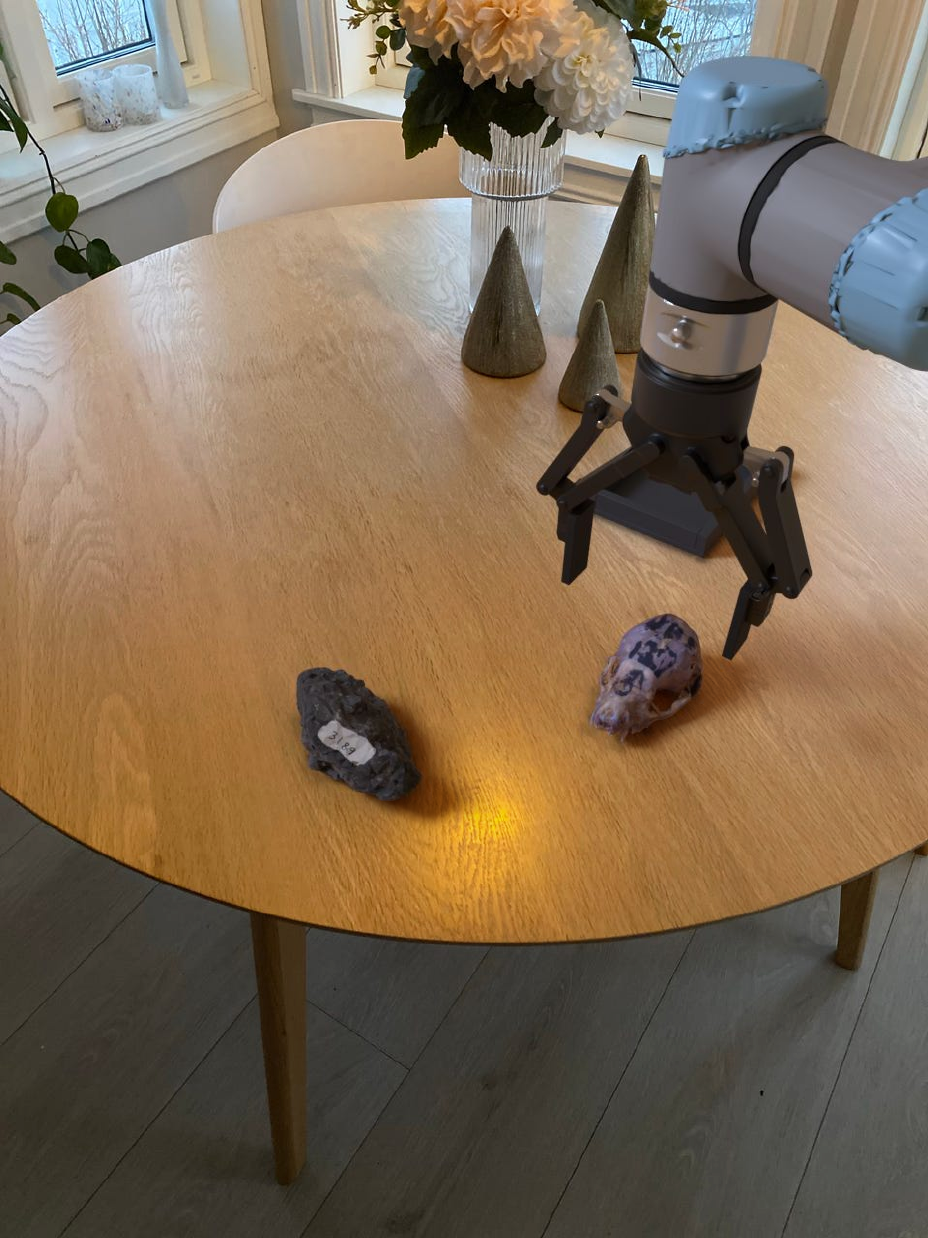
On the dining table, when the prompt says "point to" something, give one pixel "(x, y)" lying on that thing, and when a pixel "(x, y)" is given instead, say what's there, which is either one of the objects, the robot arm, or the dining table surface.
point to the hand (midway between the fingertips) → (650, 610)
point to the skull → (648, 674)
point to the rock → (354, 735)
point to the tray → (664, 511)
